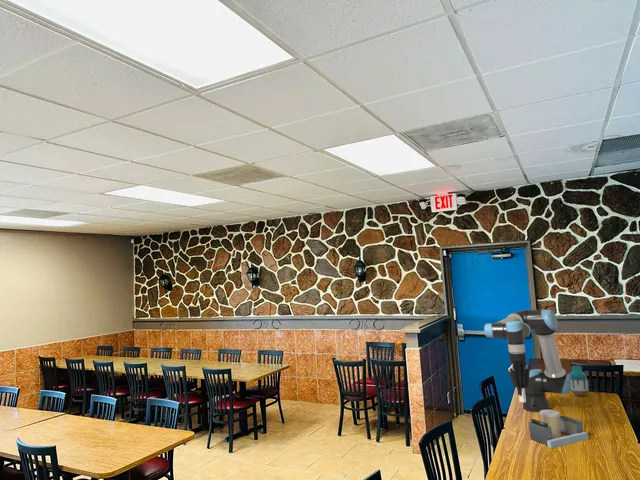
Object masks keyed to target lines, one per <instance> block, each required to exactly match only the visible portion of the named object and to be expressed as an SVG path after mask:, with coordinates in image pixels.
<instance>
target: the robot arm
mask: <svg viewBox="0 0 640 480" xmlns="http://www.w3.org/2000/svg"><path fill="white" fill-rule="evenodd" d="M483 327H484V328H483V330H484V331H483V332H484V333H483V334H485V335H484V336H485V337H486V338H490V339H491V338H492V339H494V338H495V339H496V338H497V339H499V338H500V339H504V338H505V339H507V347H508V352H509V354H508V355H509V361H510V367H506V370H507V371H508V373H509V377H510V380H511V382H512V383H511V384H512V386H513V388H515V389H516V390H517V395H518V400H519V402H521V403H522V409H524V411H529V412H534V413H540V411H541V410H551V405H550V404H549V401H548V399H547V397H546V393H551V394H560V395H568V394H569V393H570V392H571V376H570V373H567V372H566V370H565V368H563V367H562V363H561V358H560V355H559V349H558V346H557V341H556V337H555V334H556V332H557V330H558V328H559V324H558V318H557V316H556V314H555V312H554V311H553V310H551V309H545V308H544V309H522V310H519V311H516V312H515V311H514V312H512V313H510V314H509V315H507V317H506V318H504V319H502V320H499V321H496V322H493V323H492V322H489V323H485V324H484V326H483ZM531 331H533V333H534V334H535V335H536V336H537V338H538V342H539V346H540V350H541V353H542V358H543V361H544V366H545V369H544V372H543V370H542V369H540V368H538V369H537V368H536V369H535V368H534V369H532V367H531V365H528V363H527V362H526V361H527V353H526V347H525V339H526V338H527V337H529V336H530V335H531Z"/></svg>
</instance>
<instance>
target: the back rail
mask: <svg viewBox="0 0 640 480" xmlns="http://www.w3.org/2000/svg"><path fill="white" fill-rule="evenodd" d="M587 440H589V433H588V432H586V431H583V432H581V433H577V434H573V435H565V436H561V437H560V438H555V439H551V440H547V444H546V445H547V447H548V448H549V449H554V448H559V447H562V446H566V445H570V444H576V443H580V442H584V441H587Z"/></svg>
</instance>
